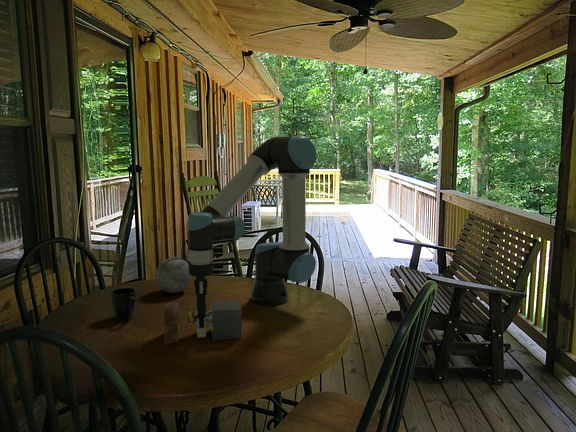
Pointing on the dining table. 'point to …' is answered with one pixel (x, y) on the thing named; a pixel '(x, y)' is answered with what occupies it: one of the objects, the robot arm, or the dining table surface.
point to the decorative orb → (173, 275)
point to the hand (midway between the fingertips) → (201, 333)
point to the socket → (171, 323)
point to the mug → (123, 302)
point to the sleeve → (226, 320)
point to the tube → (194, 320)
